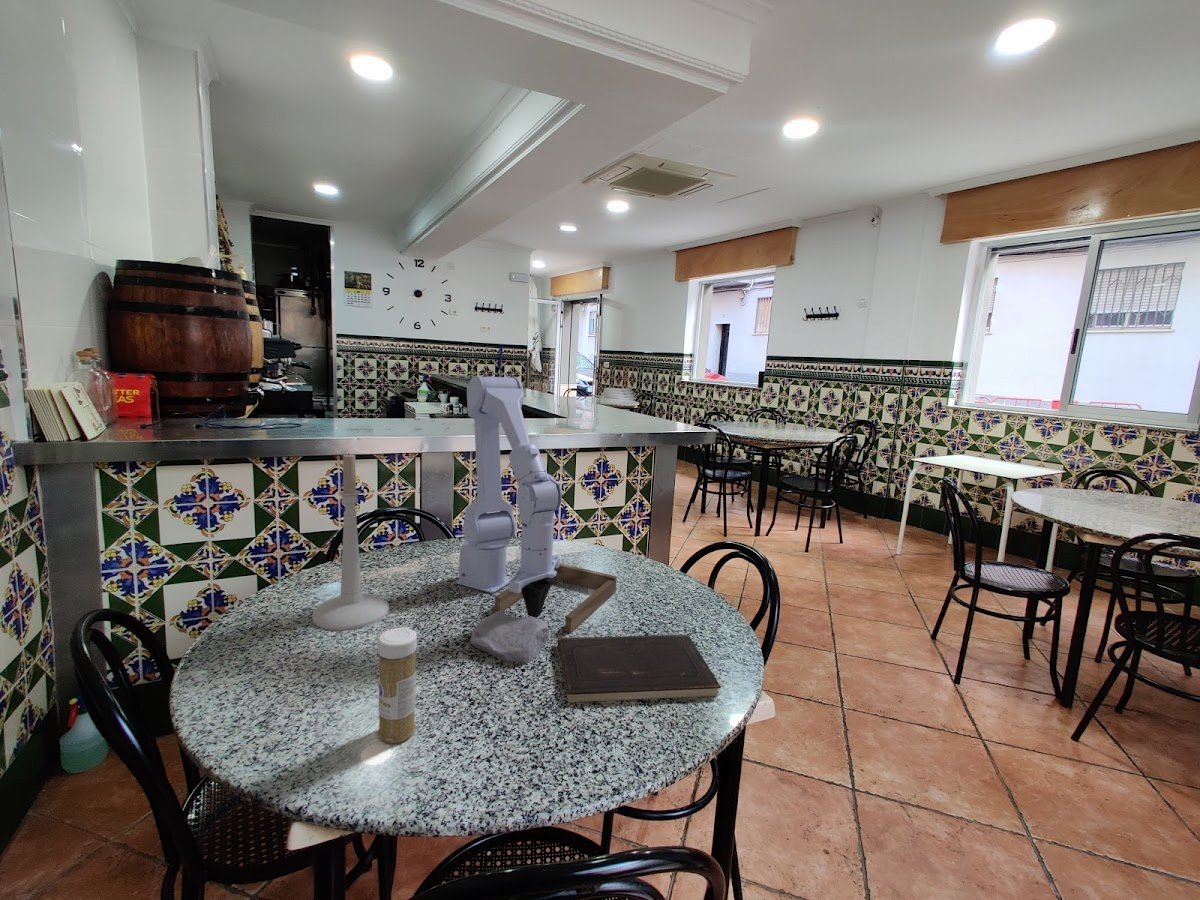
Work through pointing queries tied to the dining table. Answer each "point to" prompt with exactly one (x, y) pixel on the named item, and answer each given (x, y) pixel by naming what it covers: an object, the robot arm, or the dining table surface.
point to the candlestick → (350, 571)
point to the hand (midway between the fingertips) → (534, 615)
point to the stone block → (511, 637)
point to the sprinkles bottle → (397, 684)
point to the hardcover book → (634, 668)
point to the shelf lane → (577, 576)
